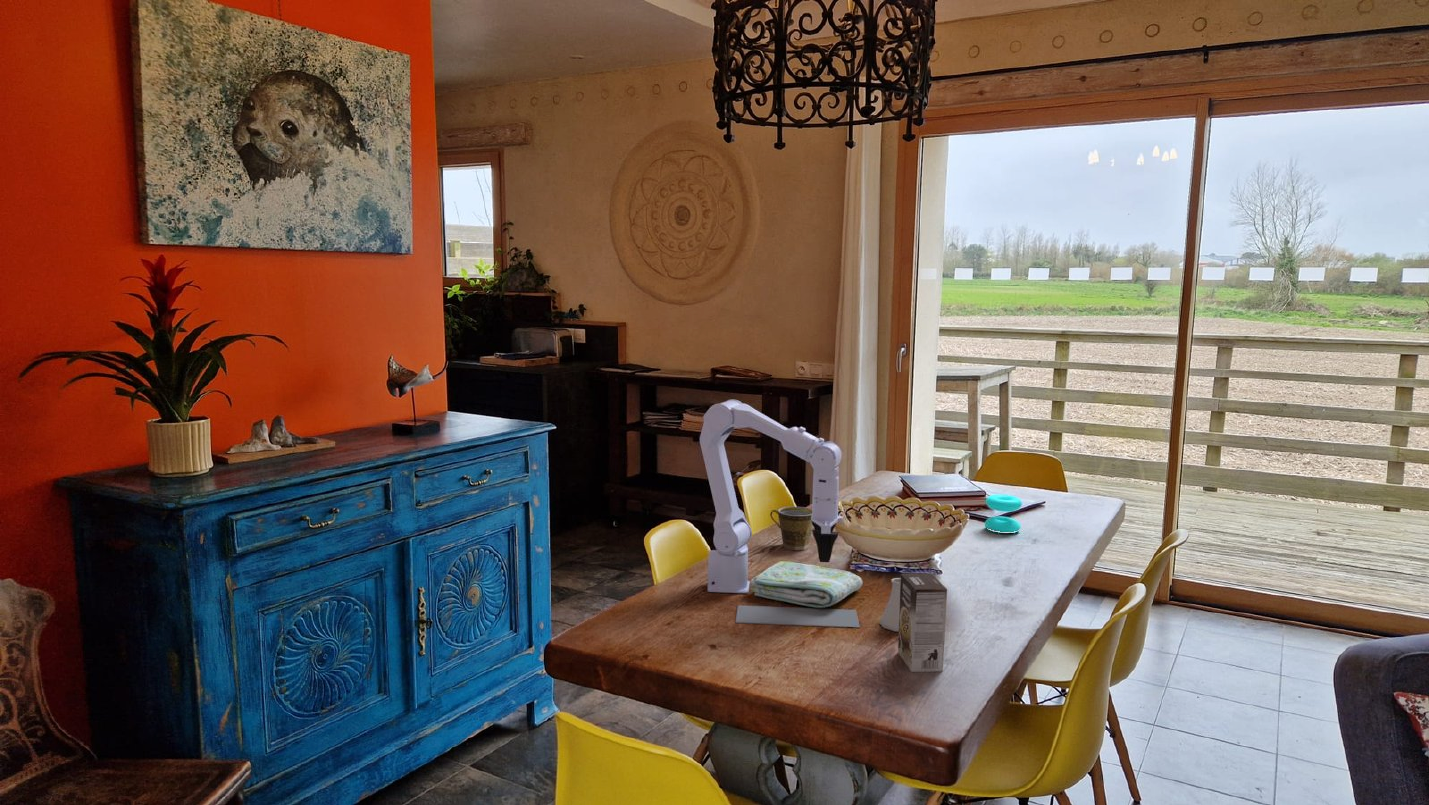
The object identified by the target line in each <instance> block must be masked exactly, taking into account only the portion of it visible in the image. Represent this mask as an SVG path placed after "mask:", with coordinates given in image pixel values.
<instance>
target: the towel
mask: <svg viewBox="0 0 1429 805" xmlns="http://www.w3.org/2000/svg"><path fill="white" fill-rule="evenodd" d="M749 581H750V584H749V586H750V589H751V591H752V592H753V593H754V596H757V597H760V598H765V599H770V600H774V601H778V602H779V601H780V602H785V603H790V604H793V605H794V604H795V605H800V606H804V607H808V608H819V609H826V608H828V607H829V608H830V607H831V606H834V605H836V604H838V603H839V602H841V601H843V599H845V598H847V596H849V595H850V594H853V593H855V592H856V591H857V590H859V589H860V588H861V587H862V586H863V579H862V578H861V577H860V576H858V574H857V575H856V574H855V573H853V572H851V571H847V570H843V569H838V568H830V567H829V568H828V567H823V566H819V565H814V564H807V563H800V562H793V561H784V560H783V561H782V560H781V561H778V562H777V563H774V564H772V565H771V566H769V567H768V568H766V569H765V570H764V571H762V572H761V573H759V574H758V575H756V576H754V577H753V578H751V580H749Z"/></svg>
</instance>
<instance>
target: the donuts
mask: <svg viewBox="0 0 1429 805" xmlns="http://www.w3.org/2000/svg"><path fill="white" fill-rule="evenodd" d="M1022 503H1023V502H1022V500H1021V499H1020V498H1019V497H1017V496H1014V495H1010V494H992V495H991V494H990V495H988V497H986V500H985V504H986V505H987V506H988V507H989V508H990V509H991V510H994V511H998V512H1004V513H1005V512H1007V513H1009V512H1015V511H1018V510H1019V509H1020V508H1021V507H1022V506H1023V504H1022ZM985 527H987V528H988V529H991V530H994V531H1000V532H1014V531H1018V530H1019V529H1020V530H1021V524H1020V523H1019V521H1018V520H1016V519H1014V518H1012V517H1008V516H1000V515H999V516H998V515H997V516H996V515H995V516H991V517H989V518H987V519H986V520H985V522H984V528H985ZM1020 530H1019V531H1020ZM1019 531H1018V532H1019Z"/></svg>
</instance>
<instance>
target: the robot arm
mask: <svg viewBox="0 0 1429 805" xmlns="http://www.w3.org/2000/svg"><path fill="white" fill-rule="evenodd" d="M742 428H750V429H754V430H755V431H757V432H759V433H762V434H764V435H766V436H768V437H770V438H772V439H775V440H776V441H779V442H780V443H781V446H782V448H783V450H785V451H787V452H789V453H791V455H794V456H796V457H798V458H800V459H801V460H803V461H805V462H807V463H809V464H810V465H811V467H812V468H813V474H812V475H813V476H812V500H811V503H812V508H811V509H812V516H811V520H812V524H813V526H812V527H813V529H812V531H811V534H812V536H813V538H814V540H815V543H816V548H817V554H818V560H819V563H830V561H831V558H832V557H831V556H832V553H833V547H834V545H835V542H836V541H837V539H838V536H839V531H834V529H835V527H836V525H837V523H838V522H843V521H844V516H842V515H839V494H840V493H839V490H840V489H839V487H840V486H839V484H840V483H839V482H840V477H839V471H840V470H839V468H840V467H839V466H838V465H840V463H841V462H842V460H843V452H842V450H841V447H840V446H838V444H836V443H835V442H834V441H830V440H829V441H825V439H824V438H822V437H819V438H818V437H816V436H814V435H813V434H811V433H809V432H807V431H806V430H807V429H806V427H803V426H800V427H797V426H792V427H790V428H789V427H786V426H784V425H782V424H780V423H779V422H777V421H776V420H774V419H772V418H770V417H769V416H767V415H765V414H764V413H762V412H760V411H759V410H756V409H755V408H753V407H752V406H751V405H749V404H747V403H743V402H742V401H740V400H737V399H728V400H726V401H723V402H720V403H715V404H713V405H711V406H710V407H709V409H708V410H706V412H705V414H704V415H703V425H702V428H701V433H700V434H699V443H700V448H701V452H702V453H701V454H702V456H703V457H702V458H703V461H704V464H705V465H704V466H705V471H706V474H707V478H708V482H709V486H710V487H709V488H710V492H711V495H712V501H713V505H714V508H715V509H714V510H715V513H716V515H715V517H714V522H713V530H714V532H713V533H714V534H713V539H712V540H713V541H712V542H713V545H714V547H715V549H712V550H708V557H707V558H708V559H707V561H708V562H707V574H706V580H707V592H708V593H726V594H727V593H728V594H729V593H731V594H732V593H733V594H748V593H749V592H750V591H749V590H750V581H751V580H748V576H749V575H748V573H749V571H748V570H749V568H748V567H749V565H748V564H749V548H748V543H749V542H750V540H751V538H752V535H753V530H752V527H751V525H750V524H749V523H748V521H747V519H746V517H745V513H744V512H743V510H742V509H740V508H739V504H738V500H737V497H736V496H737V495H736V491H735V486H734V482H733V479H732V473H731V470H730V466H729V460H728V457H727V452H726V447H725V441H726V440H727V438H728V437H729V436H730V434H731V433H732V432H733V430H735V429H742Z"/></svg>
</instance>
